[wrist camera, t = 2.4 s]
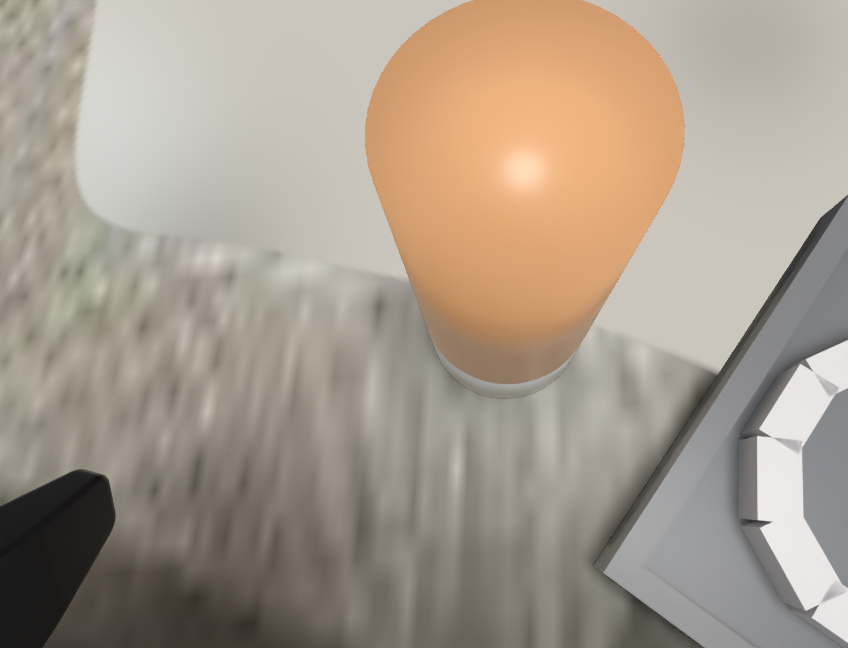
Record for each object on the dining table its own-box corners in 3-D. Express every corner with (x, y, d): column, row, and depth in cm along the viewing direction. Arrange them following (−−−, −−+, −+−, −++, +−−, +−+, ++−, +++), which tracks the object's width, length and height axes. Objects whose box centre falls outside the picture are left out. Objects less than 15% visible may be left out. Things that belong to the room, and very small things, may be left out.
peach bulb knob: (450, 413, 23) (399, 310, 10) (418, 275, 24) (339, 34, 11) (596, 379, 23) (729, 232, 10) (556, 242, 24) (630, -41, 11)
